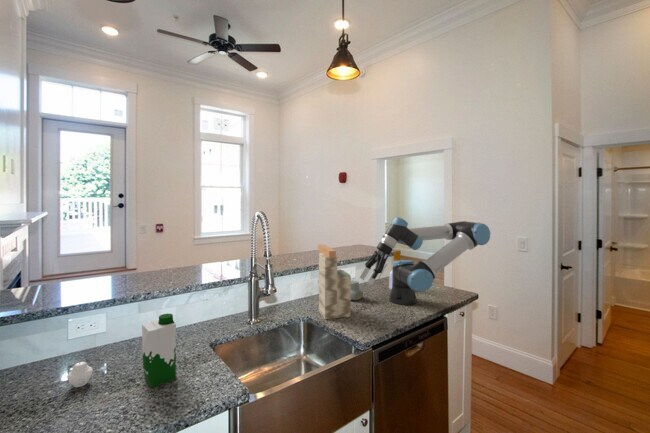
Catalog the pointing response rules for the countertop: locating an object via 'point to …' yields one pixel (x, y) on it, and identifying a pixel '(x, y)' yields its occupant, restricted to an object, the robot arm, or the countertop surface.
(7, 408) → the countertop surface
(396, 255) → the soap bottle
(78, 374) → the pale grey lumpy disc
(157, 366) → the milk carton
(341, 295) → the stepped stand
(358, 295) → the air freshener
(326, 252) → the orange bar
